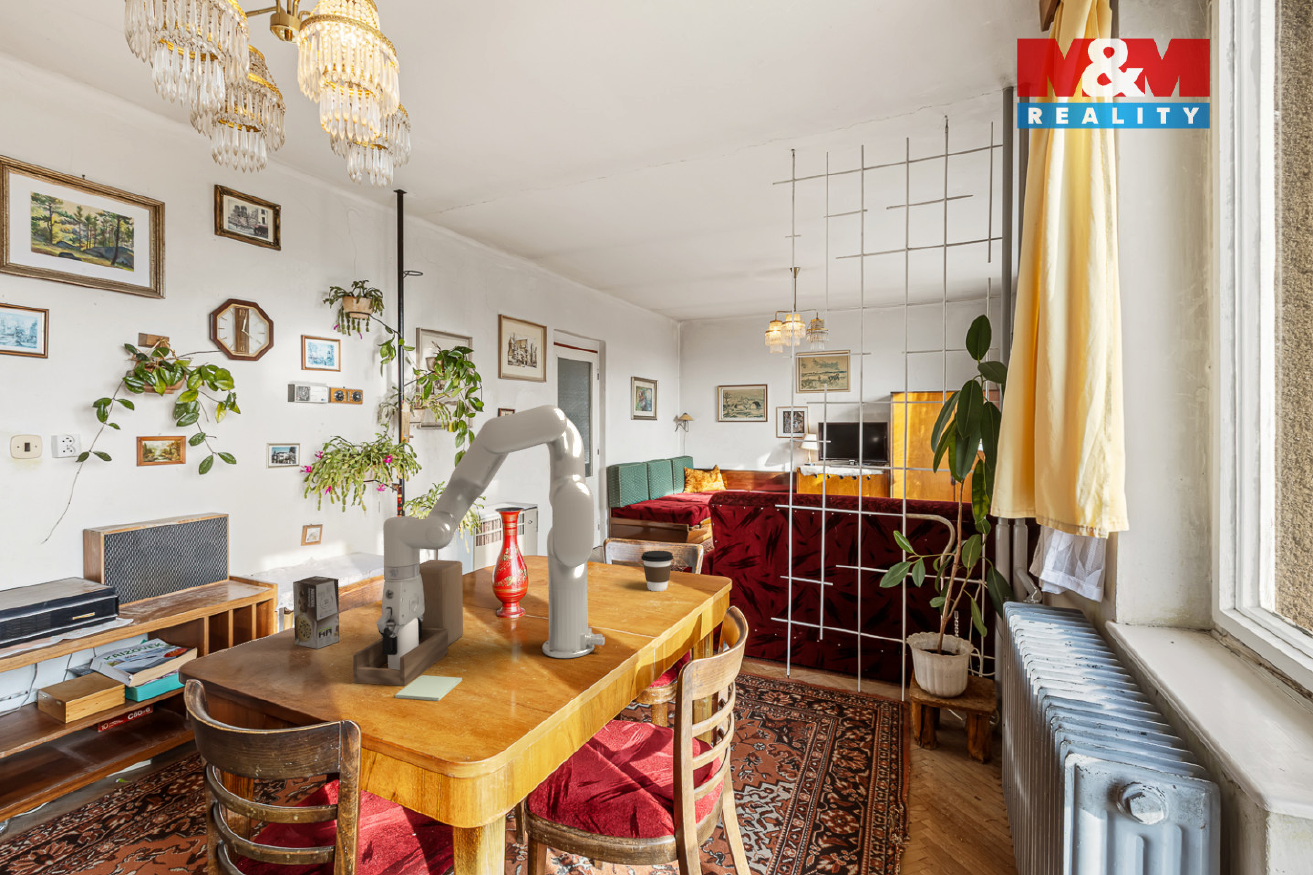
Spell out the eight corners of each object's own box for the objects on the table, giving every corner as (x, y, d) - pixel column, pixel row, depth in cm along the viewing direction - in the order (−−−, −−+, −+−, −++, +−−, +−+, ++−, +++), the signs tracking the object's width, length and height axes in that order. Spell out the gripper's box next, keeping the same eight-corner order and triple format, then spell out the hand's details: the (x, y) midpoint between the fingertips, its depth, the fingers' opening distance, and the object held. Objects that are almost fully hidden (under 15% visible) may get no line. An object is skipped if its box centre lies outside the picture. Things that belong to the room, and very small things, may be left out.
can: (388, 675, 130) (388, 621, 130) (387, 664, 136) (386, 613, 136) (420, 669, 133) (419, 616, 133) (417, 659, 139) (416, 608, 139)
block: (443, 650, 144) (442, 569, 144) (407, 647, 146) (405, 567, 146) (464, 636, 154) (463, 560, 154) (430, 633, 156) (429, 558, 156)
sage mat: (461, 680, 127) (461, 677, 127) (438, 700, 118) (438, 697, 118) (421, 677, 129) (421, 675, 129) (395, 697, 119) (395, 694, 119)
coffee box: (340, 641, 151) (339, 578, 151) (317, 649, 145) (316, 584, 145) (317, 636, 155) (316, 575, 155) (293, 644, 149) (292, 580, 149)
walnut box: (448, 653, 142) (447, 628, 142) (404, 685, 125) (404, 657, 124) (402, 650, 144) (402, 626, 144) (353, 682, 126) (352, 654, 126)
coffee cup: (638, 592, 193) (638, 556, 193) (644, 584, 204) (644, 549, 204) (671, 594, 192) (671, 557, 191) (675, 585, 202) (675, 550, 202)
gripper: (394, 581, 125) (395, 662, 125) (437, 563, 142) (438, 633, 142) (362, 580, 126) (363, 660, 126) (408, 562, 143) (409, 632, 143)
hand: (403, 646), depth 134 cm, fingers open, 9 cm apart
